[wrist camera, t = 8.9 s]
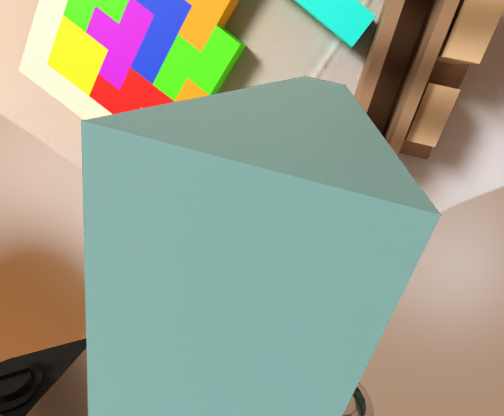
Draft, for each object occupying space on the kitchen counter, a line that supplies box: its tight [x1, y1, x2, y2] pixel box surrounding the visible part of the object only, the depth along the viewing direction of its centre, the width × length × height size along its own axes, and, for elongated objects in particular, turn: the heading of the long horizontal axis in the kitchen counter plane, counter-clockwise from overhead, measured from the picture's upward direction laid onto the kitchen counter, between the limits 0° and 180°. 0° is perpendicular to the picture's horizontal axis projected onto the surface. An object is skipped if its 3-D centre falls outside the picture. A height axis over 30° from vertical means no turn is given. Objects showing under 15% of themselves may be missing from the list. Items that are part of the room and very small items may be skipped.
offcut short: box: [405, 83, 461, 147], centre depth 31 cm, size 5×3×4 cm, turn 168°
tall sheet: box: [81, 76, 441, 416], centre depth 11 cm, size 12×2×16 cm, turn 168°
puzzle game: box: [19, 0, 376, 120], centre depth 35 cm, size 30×3×30 cm
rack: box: [354, 0, 469, 159], centre depth 30 cm, size 16×9×6 cm, turn 168°
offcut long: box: [436, 0, 504, 65], centre depth 27 cm, size 6×3×6 cm, turn 168°
